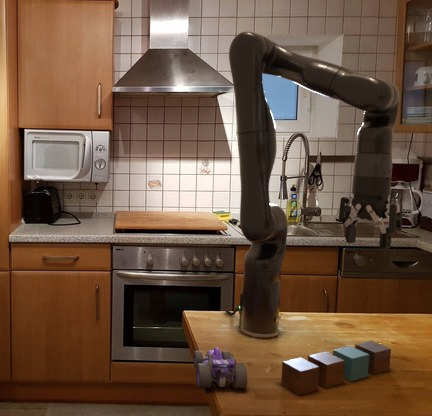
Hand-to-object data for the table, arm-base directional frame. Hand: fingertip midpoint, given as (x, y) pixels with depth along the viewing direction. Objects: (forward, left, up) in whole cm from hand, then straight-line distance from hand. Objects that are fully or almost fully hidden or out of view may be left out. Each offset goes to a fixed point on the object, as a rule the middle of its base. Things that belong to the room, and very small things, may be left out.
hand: (366, 246), depth 117 cm
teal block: (+5, -9, -26) cm, 28 cm away
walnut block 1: (+5, -23, -26) cm, 35 cm away
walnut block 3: (+5, -2, -26) cm, 27 cm away
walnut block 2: (+5, -16, -26) cm, 31 cm away
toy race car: (-6, -35, -26) cm, 44 cm away
